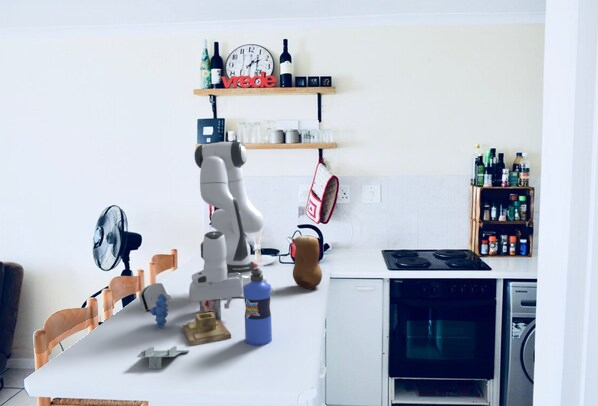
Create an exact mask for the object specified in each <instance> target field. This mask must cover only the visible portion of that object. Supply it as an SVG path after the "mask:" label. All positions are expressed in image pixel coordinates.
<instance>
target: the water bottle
mask: <svg viewBox="0 0 598 406" xmlns="http://www.w3.org/2000/svg"><path fill="white" fill-rule="evenodd" d="M251 273H252V275H251V282H250V283H248V284H246V285H244V286H243V293H244V298H243V299H244V304H245V309H244V310H245V312H244V336H245V339H244V341H245V344H247V345H250V346H256V347H257V346H258V347H259V346H265V345H268V344H270V343H271V342H272V339H273V337H272V335H273V334H272V333H273V331H272V313H271V296H272V292H271V287H272V286H271V284H270V283H269V282H267V283H265V282H263V275H264V274H263V275H262V273H263V271H262V270H261V269H260V268H259V267H257V268H255V269H254V270H253V271H252V272H251Z"/></svg>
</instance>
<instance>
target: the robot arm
mask: <svg viewBox="0 0 598 406" xmlns="http://www.w3.org/2000/svg"><path fill="white" fill-rule="evenodd" d="M247 155H248V151H247V149H246V146H245V144H243V142H240V141H219V142H212V143H207V144H206V143H203V144H200V145H198V146H197V147H196V149H195V150H194V160H195V161H194V162H195V164H196V165H197V167H198V168H199V169H200V172H199V173H200V174H199V189H200V196H201V198H202V200H203V201H204V202H205V203H206V204H207V205H209V206H212V207H215V208H217V209H216V210H214V212H213V213H212V214H211V217H210V219H211V220H210V222H211V225H212V227H213V228H214V230H213V231H209V232H206V233H205V234H204V236H203V241H202V242H201V243H200V258H201V259H202V260H203V270H200V271H198V272H196V273H194V274H192V275H191V282H190V284H189V289H188V290H189V291H188V298H189V300H190V302H191V303H199V302H201V303H202V305H203V306H204V311H205V312H209V307H208V306H206V305H205V304H204V303H206V301H208V300H215V299H220V300H221V299H222V300H223V299H227V301H226V302H225V303H224V304H223V305H224V309H225V310H227V309H230V304H231V302H232V300H233V298H236V297H237V298H238V297H239V298H242V299H244V293H243V286H244V285H246V284H248V283H250V282H251V275H252V273H251V272H252V271H253V270H254V269H255V268H259V264H258V263H256V262H253V261H251V246H250V244H249V242H248V241H247V238H246V235H245V234H254V233H259V232H260V231H261V230H262V228H263V226H264V224H265V223H264V222H265V219H264V217H263V213H262V212H261V211H259V210H258V209H256V208H255V206H254V205H253V204H252V202H251V201H250V198H249V197H248V194H247V189H246V185H245V178H244V173H243V172H244V171H243V168H242V167H243V166H244V164H245V163H246V162H247V158H248V157H247ZM215 230H216V231H215ZM261 274H262V273H261ZM262 275H263V282H265V283H268V280H267V278H266V276H265V275H264V274H262ZM273 291H274V290H273V287H272V286H271V293H273Z"/></svg>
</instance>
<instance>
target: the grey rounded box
mask: <svg viewBox="0 0 598 406" xmlns="http://www.w3.org/2000/svg"><path fill="white" fill-rule="evenodd" d="M160 294H164V295H165V297H166V298H167V301H166V303H167V304H168V303H169V302H170V301H172V296H171V295H170V294H168V293H167V290H166V289H165V287H164V285H163V283H162V282H156V283H152V284H149V285H147V286H145V287H144V288H143V289H142V290H141V291H140V293H139V295H138V298H139V301H140V304H141V306H142V310H143V312H146V311H148V310H149V311H150V310H151V309H152V308H153V307H156V301H157V300H158V299H157V297H158V296H159V295H160Z"/></svg>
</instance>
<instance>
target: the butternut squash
mask: <svg viewBox="0 0 598 406" xmlns="http://www.w3.org/2000/svg"><path fill="white" fill-rule="evenodd" d="M294 249H295V250H294V266H293V269H292V278H293V279H294V282H295V284H296V285H297V286H298V287H301V288H303V289H305V290H312V289H314V288H317V287H318V286H319V285H320V283H321V282H322V279H323V273H322V269H321V266H320V264H319V257H320V243H319V240H318V238H317V237H316V236H312V235H307V234H306V235H300V236H297V237H296V239H295V241H294Z"/></svg>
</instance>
